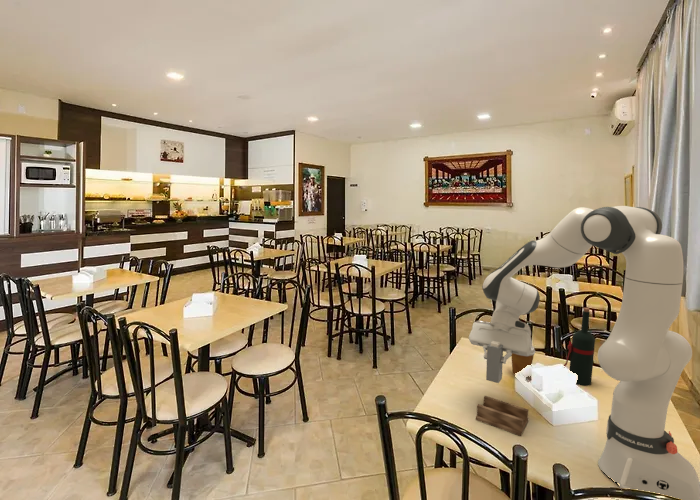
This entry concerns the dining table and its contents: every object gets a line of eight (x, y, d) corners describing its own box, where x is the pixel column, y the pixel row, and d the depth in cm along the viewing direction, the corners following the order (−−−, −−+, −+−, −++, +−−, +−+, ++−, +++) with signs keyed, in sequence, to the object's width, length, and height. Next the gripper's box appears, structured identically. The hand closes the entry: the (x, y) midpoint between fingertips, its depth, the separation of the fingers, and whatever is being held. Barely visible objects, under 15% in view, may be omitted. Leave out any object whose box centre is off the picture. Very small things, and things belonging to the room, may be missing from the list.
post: (501, 378, 126) (503, 342, 125) (498, 383, 123) (499, 345, 121) (489, 375, 129) (491, 339, 127) (486, 379, 125) (487, 343, 124)
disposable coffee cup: (537, 379, 149) (540, 351, 147) (513, 379, 149) (515, 351, 147) (527, 369, 158) (529, 342, 157) (504, 368, 158) (506, 342, 157)
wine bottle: (560, 373, 154) (566, 304, 150) (588, 378, 150) (596, 306, 146) (563, 382, 147) (570, 309, 142) (593, 387, 143) (601, 312, 139)
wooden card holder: (528, 420, 122) (529, 408, 121) (520, 436, 114) (521, 422, 113) (485, 406, 130) (485, 394, 130) (475, 419, 122) (476, 407, 122)
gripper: (472, 315, 135) (461, 349, 129) (533, 325, 123) (525, 364, 116) (476, 323, 139) (466, 357, 133) (536, 335, 127) (527, 372, 120)
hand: (494, 360), depth 124 cm, fingers closed on post, 4 cm apart
